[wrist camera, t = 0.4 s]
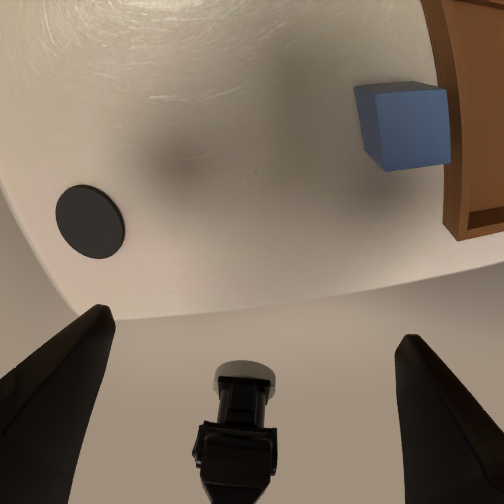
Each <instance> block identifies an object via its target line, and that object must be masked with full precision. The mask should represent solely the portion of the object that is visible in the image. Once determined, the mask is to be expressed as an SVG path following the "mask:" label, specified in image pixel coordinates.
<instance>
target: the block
mask: <svg viewBox="0 0 504 504" xmlns="http://www.w3.org/2000/svg"><path fill="white" fill-rule="evenodd" d="M354 91H355V96H356V102H357V107H358V113H359V118H360V124H361V131H362V137H363V144H364V150H365V151H366V152H367V153H368V154H369V155H370V156H371V158H372V159H373V160H374V161H375V162H376V163H377V164H378V165H379V166H380V168H381V169H382V170H383V171H384V172H390V171H397V170H404V169H411V168H418V167H425V166H433V165H441V164H449V163H451V144H450V124H449V111H448V101H447V92H446V89H443V88H440V87H436V86H431V85H427V84H423V83H418V82H398V83H386V84H375V85H365V86H357V87H354Z"/></svg>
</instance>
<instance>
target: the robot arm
mask: <svg viewBox="0 0 504 504" xmlns="http://www.w3.org/2000/svg"><path fill="white" fill-rule="evenodd" d="M115 328H116V326H115V322H114V319H113V316H112V313H111V310H110V308H109V307H108V306H106V305H100V304H97V305H95V306H93V307H92V308H90V309H89V310H88V311H86V312H85V313H84V314H82V315H81V316H80V317H79V318H77V319H76V320H74V321H73V322H72V323H71V324H69V325H68V326H67V327H65V328H64V329H63V330H61V331H60V332H59V333H57V334H56V335H55V336H54V337H52V338H51V339H50V340H49V341H47V342H46V343H45V344H43V345H42V346H41V347H40V348H38V349H37V350H36V351H35V352H33V353H32V354H31V355H30V356H28V357H27V358H26V359H25V360H24V361H22V362H21V363H20V364H18V365H17V366H16V368H13V369H12V370H11V371H10V372H9V373H7V374H6V375H5V376H4V377H2V378H1V379H0V504H68V500H69V495H70V491H71V486H72V482H73V477H74V473H75V469H76V465H77V461H78V457H79V454H80V450H81V446H82V443H83V439H84V436H85V432H86V429H87V426H88V423H89V419H90V416H91V413H92V410H93V406H94V403H95V400H96V397H97V394H98V391H99V388H100V385H101V383H102V379H103V377H104V373H105V370H106V366H107V362H108V357H109V353H110V349H111V345H112V341H113V337H114V333H115ZM395 372H396V396H397V406H398V413H399V422H400V431H401V441H402V452H403V466H404V483H405V504H504V432H503V431H502V430H501V429H500V428H499V427H498V426H497V424H496V423H495V422H494V421H493V420H492V418H491V417H490V416H489V415H488V414H487V413H486V411H485V410H483V408H482V406H481V405H480V404H479V403H478V402H477V400H476V399H475V398H474V397H473V396H472V394H471V393H470V392H469V391H468V390H467V388H466V387H465V386H464V385H463V384H462V383H461V381H460V380H459V379H458V378H457V377H456V376H455V375H454V373H453V372H452V371H451V370H450V369H449V368H448V367H447V365H446V364H445V363H444V362H443V361H442V360H441V359H440V358H439V357H438V355H437V354H436V353H435V352H434V351H433V350H432V349H431V348H430V347H429V346H428V344H427V343H426V342H425V341H424V340H423V339H422V338H421V337H420V336H419V335H417V334H407V335H405V336H404V338H403V339H402V341H401V343H400V344H399V346H398V348H397V349H396V351H395ZM270 386H271V381H270V380H264V379H251V378H239V377H229V376H219V377H218V390H219V400H220V405H219V411H218V418H217V423H213V422H209V421H204V424H203V425H200V426H199V430H198V436H197V439H196V442H195V445H194V448H193V451H192V456H193V457H194V458H195V462H196V467H197V468H200V469H201V470H200V478H201V482H202V486H203V488H204V490H205V492H206V494H207V496H208V498H209V500H210V502H211V504H255V503H256V502H257V501H258V500H259V499H260V497H261V496H262V495H263V494H264V492H265V490H266V488H267V487H268V485H269V483H270V476H274V475H275V473H276V468H277V455H278V454H277V453H278V452H277V428H264V417H265V405H267V402H268V397H269V391H270Z"/></svg>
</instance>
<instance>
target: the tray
mask: <svg viewBox="0 0 504 504" xmlns="http://www.w3.org/2000/svg"><path fill="white" fill-rule="evenodd" d="M421 2H422V6H423V9H424V13H425V17H426V21H427V25H428V29H429V33H430V38H431V43H432V48H433V53H434V58H435V64H436V70H437V77H438V84H439V87H440V88H443V89H446V92H447V101H448V111H449V124H450V144H451V163H449V164H444V211H443V224H444V225H445V226H446V228H447V229H448V230H449V232H450V233H451V234H452V235H453V237H454V238H455V239H456V241H462V240H466V239H471V238H475V237H480V236H484V235H489V234H493V233H498V232H502V231H504V0H421Z"/></svg>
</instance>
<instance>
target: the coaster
mask: <svg viewBox="0 0 504 504" xmlns="http://www.w3.org/2000/svg"><path fill="white" fill-rule="evenodd" d="M56 221H57V225H58V228H59V230H60V232H61V234H62V236H63V237H64V239H65V240H66V241H67V243H68V244H69V245H70V246H71V247H72V248H73V249H75V250H76V251H77V252H79V253H81V254H82V255H84V256H87V257H90V258H94V259H104V258H108V257H110V256H112V255H113V254H115V253H116V252H117V251H118V249H119V248H120V247H121V245H122V243H123V240H124V223H123V219H122V216H121V214H120V212H119V210H118V208H117V207H116V205H115V204H114V203H113V201H112V200H111V199H110V198H109V197H108V196H107V195H105V194H104V193H103V192H101V191H100V190H98V189H96V188H93V187H90V186H86V185H78V186H74V187H71V188H69V189H68V190H66V191H65V192H64V193H63V194H62V195H61V196H60V198H59V200H58V202H57V205H56Z"/></svg>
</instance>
